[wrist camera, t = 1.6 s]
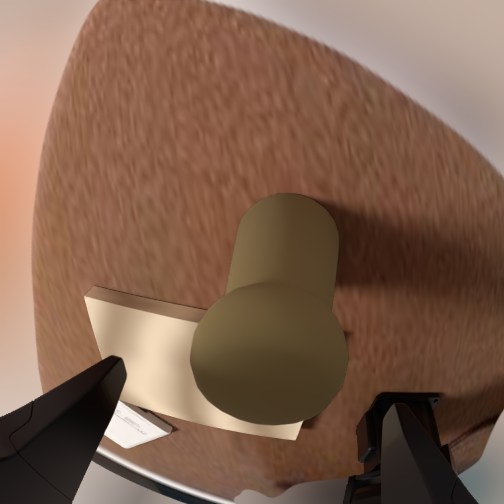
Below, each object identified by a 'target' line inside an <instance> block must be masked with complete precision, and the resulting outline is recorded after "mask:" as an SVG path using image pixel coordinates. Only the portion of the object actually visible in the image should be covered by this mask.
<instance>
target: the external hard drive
mask: <svg viewBox="0 0 504 504" xmlns="http://www.w3.org/2000/svg"><path fill="white" fill-rule="evenodd" d="M172 428H173V427H171V426H169V425H168V424H166V423H165V422H163V421H162V420H160V419H159V418H157V417H156V416H154V415H153V414H151V413H150V412H148V411H146V410H145V409H143V408H142V407H139V406H136V405H133V404H130V403H127V402H125V401H122V400H119V401H118V404H117V407H116V410H115V412H114V415H113V417H112V419H111V421H110V423H109V425H108V427H107V429H106V431H105V433H104V435H106V436H107V437H109V438H110V439H112V440H113V441H115V442H116V443H118V444H119V445H121V446H122V447H124V448H131V447H134V446H137V445H140V444H143V443H145V442H148V441H151V440H154V439H157V438H159V437H162V436H164V435H167V434H170V433H171V431H172Z"/></svg>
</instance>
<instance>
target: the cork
mask: <svg viewBox="0 0 504 504" xmlns="http://www.w3.org/2000/svg"><path fill="white" fill-rule="evenodd" d="M338 253H339V233H338V230H337V227H336V223H335V221H334V220H333V218H332V217H331V215H330V214H329V213H328V211H327V210H326V209H325V208H324V207H323V206H321V205H320V204H318V203H317V202H316V201H314V200H313V199H311V198H308V197H305V196H301V195H298V194H275V195H272V196H269V197H266V198H263V199H261V200H260V201H258V202H257V203H256V204H254V205H253V206H252V207H250V208H249V209H248V211H247V212H246V214H245V215H244V217H243V218H242V220H241V221H240V225H239V229H238V232H237V237H236V242H235V247H234V252H233V257H232V262H231V267H230V272H229V278H228V283H227V288H226V293H225V295H224V296H223V297H221V298H220V299H218V300H217V301H216V302H215V303H214V304H213V305H212V306H211V307H210V308H209V309H208V311H207V312H206V313H205V315H204V316H203V318H202V319H201V320H200V322H199V324H198V326H197V328H196V330H195V332H194V335H193V340H192V346H191V353H190V365H191V368H192V372H193V375H194V379H195V382H196V385H197V388H198V389H199V390H200V392H201V393H202V394H203V396H204V397H205V398H206V400H207V401H209V402H210V403H211V404H212V405H214V406H215V407H216V408H218V409H219V410H220V411H222V412H224V413H226V414H228V415H230V416H232V417H234V418H237V419H239V420H242V421H246V422H249V423H253V424H259V425H271V426H276V425H286V424H295V423H298V422H301V421H304V420H307V419H310V418H312V417H314V416H316V415H317V414H319V413H320V412H322V411H323V410H325V409H326V408H327V406H328V405H329V404H330V403H331V401H332V400H333V399H334V398H335V396H336V395H337V394H338V392H339V391H340V389H341V388H342V386H343V383H344V379H345V375H346V370H347V365H348V360H349V356H348V348H347V343H346V339H345V336H344V332H343V329H342V326H341V325H340V323H339V321H338V319H337V317H336V316H335V315H334V314H333V312H332V305H333V297H334V289H335V281H336V272H337V263H338Z"/></svg>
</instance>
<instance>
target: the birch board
mask: <svg viewBox="0 0 504 504" xmlns="http://www.w3.org/2000/svg"><path fill="white" fill-rule="evenodd" d="M84 297H85V301H86V305H87V309H88V313H89V317H90V320H91V324H92V327H93V331H94V334H95V337H96V341H97V344H98V347H99V350H100V353H101V356H102V359H105V358H106V357H108V356H110V355H115V356H118V357H121V358H122V359H123V361H124V364H125V368H126V371H127V379H126V382H125V385H124V388H123V390H122V393H121V396H120V398H119V400H122V401H125V402H127V403H130V404H133V405H136V406H139V407H142V408H146V409H149V410H152V411H155V412H159V413H162V414H165V415H169V416H172V417H176V418H180V419H184V420H187V421H191V422H195V423H200V424H204V425H208V426H213V427H217V428H222V429H227V430H232V431H237V432H243V433H248V434H254V435H260V436H267V437H274V438H282V439H290V440H296V437H297V435H298V432H299V430H300V427H301V425H302V422H303V421H301V422H298V423H295V424H286V425H276V426H271V425H259V424H253V423H249V422H246V421H242V420H239V419H237V418H234V417H232V416H230V415H228V414H226V413H224V412H222V411H220V410H219V409H218V408H216V407H215V406H214V405H212V404H211V403H210V402H209V401H207V400H206V398H205V397H204V396H203V394H202V393H201V392H200V390H199V389H198V388H197V385H196V382H195V379H194V375H193V372H192V368H191V365H190V353H191V346H192V340H193V335H194V332H195V330H196V328H197V326H198V324H199V322H200V320H201V319H202V318H203V316H204V315H205V313H206V312H207V311H208V310H203V309H198V308H193V307H187V306H182V305H177V304H172V303H168V302H163V301H158V300H153V299H149V298H144V297H140V296H135V295H131V294H126V293H122V292H118V291H113V290H109V289H105V288H101V287H97V286H94V287H93V288H92V289H91V290H90V291H89V292H88V293H87V294H86V295H85V296H84Z"/></svg>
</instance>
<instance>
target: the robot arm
mask: <svg viewBox="0 0 504 504" xmlns="http://www.w3.org/2000/svg"><path fill="white" fill-rule="evenodd" d="M126 379H127V371H126V368H125V364H124V361H123V359H122V358H121V357H118V356H115V355H110V356H108V357H106V358H105V359H103V360H101V361H100V362H98V363H96V364H95V365H93V366H91V367H90V368H88V369H86V370H84V371H83V372H81V373H79V374H78V375H76V376H74V377H73V378H71V379H69V380H67V381H66V382H64V383H62V384H61V385H59V386H57V387H55V388H54V389H52V390H50V391H49V392H47V393H45V394H43V395H42V396H40V397H38V398H37V399H35V400H34V401H31V402H29V403H28V404H26V405H24V406H22V407H21V408H19V409H17V410H15V411H13V412H11V413H8V414H6V415H4V416H2V417H0V504H72V501H73V500H74V497H75V495H76V493H77V490H78V488H79V486H80V484H81V482H82V480H83V477H84V475H85V473H86V471H87V469H88V466H89V464H90V462H91V460H92V458H93V456H94V454H95V452H96V450H97V448H98V446H99V443H100V441H101V439H102V437H103V435H104V433H105V431H106V429H107V427H108V425H109V423H110V421H111V419H112V417H113V415H114V412H115V410H116V407H117V404H118V401H119V398H120V396H121V393H122V390H123V388H124V385H125V382H126ZM439 401H440V396H439V394H379V395H377V396H376V398H375V399H374V401H373V403H372V405H371V406H370V408H369V410H368V411H367V412H366V413H365V414H364V416H363V417H362V419H361V420H360V422H359V424H358V425H357V429H356V435H357V443H358V461H359V462H360V463H364V474H361V475H357V476H356V475H354V476H350V477H349V479H348V484H347V487H346V491H345V496H344V500H343V504H478V502H477V501H476V500H475V499H474V497H473V496H472V495H471V494H470V492H469V491H468V490H467V488H466V487H465V486H464V484H463V483H462V482H461V480H460V478H459V477H458V475H457V470H456V465H455V461H454V458H453V455H452V453H451V450H450V447H449V445H448V444H445V445H443V446H442V447H441V443H440V438H439V433H438V429H437V425H436V421H435V417H434V413H433V409H434V408H435V407H436V405H437V404H438V403H439Z"/></svg>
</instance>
